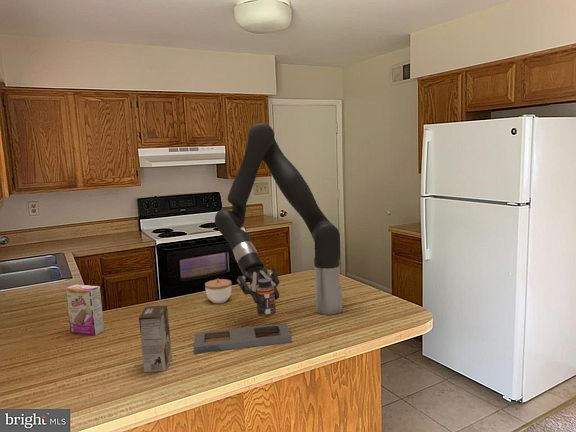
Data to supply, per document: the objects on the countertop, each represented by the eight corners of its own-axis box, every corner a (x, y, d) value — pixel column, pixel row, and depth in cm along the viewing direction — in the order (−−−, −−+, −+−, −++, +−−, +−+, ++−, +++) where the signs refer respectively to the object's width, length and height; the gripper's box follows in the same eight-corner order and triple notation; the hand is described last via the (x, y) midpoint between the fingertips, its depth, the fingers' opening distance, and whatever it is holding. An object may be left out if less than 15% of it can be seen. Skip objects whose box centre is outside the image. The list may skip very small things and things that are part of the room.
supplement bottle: (273, 317, 137) (271, 282, 135) (255, 317, 138) (252, 282, 136) (277, 311, 142) (275, 277, 141) (260, 310, 144) (257, 277, 142)
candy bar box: (69, 333, 152) (64, 288, 150) (80, 327, 157) (75, 283, 155) (95, 336, 149) (89, 289, 147) (105, 330, 153) (100, 285, 151)
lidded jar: (221, 306, 172) (219, 284, 171) (200, 303, 178) (199, 281, 177) (237, 298, 181) (236, 276, 180) (218, 295, 187) (216, 274, 186)
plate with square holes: (286, 328, 148) (285, 322, 147) (291, 342, 137) (291, 336, 136) (195, 338, 143) (195, 332, 143) (194, 353, 132) (193, 347, 132)
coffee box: (150, 358, 130) (145, 306, 128) (172, 356, 131) (167, 304, 129) (143, 372, 121) (137, 317, 119) (166, 370, 122) (161, 315, 120)
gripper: (231, 255, 139) (252, 300, 131) (269, 247, 147) (291, 289, 139) (225, 268, 145) (245, 312, 137) (262, 260, 153) (283, 301, 144)
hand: (268, 300), depth 138 cm, fingers closed on supplement bottle, 6 cm apart
